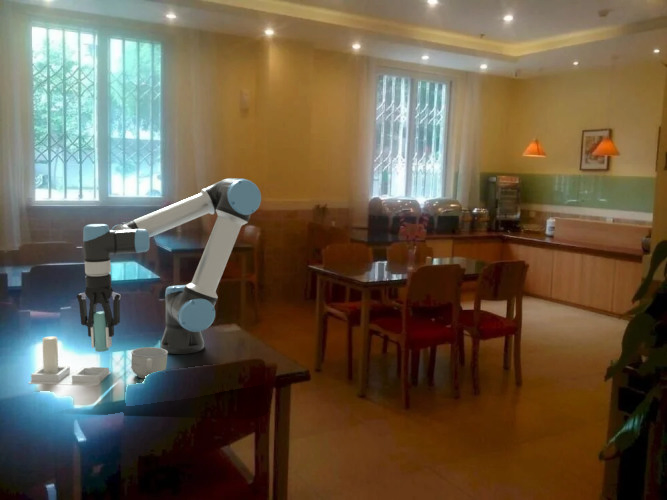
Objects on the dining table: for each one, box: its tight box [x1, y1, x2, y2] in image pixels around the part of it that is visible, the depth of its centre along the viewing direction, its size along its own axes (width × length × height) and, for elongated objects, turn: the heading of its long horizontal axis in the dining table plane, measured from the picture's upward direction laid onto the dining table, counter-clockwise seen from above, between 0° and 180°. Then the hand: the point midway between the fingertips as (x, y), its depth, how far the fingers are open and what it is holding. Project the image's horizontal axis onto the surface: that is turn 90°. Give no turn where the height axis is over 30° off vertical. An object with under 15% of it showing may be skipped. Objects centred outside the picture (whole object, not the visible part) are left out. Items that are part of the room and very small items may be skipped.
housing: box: [28, 365, 112, 387], centre depth 185 cm, size 20×12×3 cm, turn 90°
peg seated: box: [42, 336, 59, 374], centre depth 184 cm, size 4×4×12 cm
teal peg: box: [93, 310, 110, 353], centre depth 194 cm, size 4×4×12 cm
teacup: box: [130, 346, 169, 379], centre depth 190 cm, size 14×11×8 cm
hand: (101, 346), depth 194 cm, fingers closed on teal peg, 4 cm apart
